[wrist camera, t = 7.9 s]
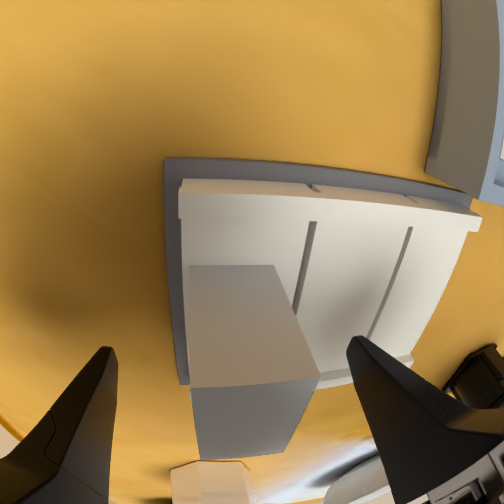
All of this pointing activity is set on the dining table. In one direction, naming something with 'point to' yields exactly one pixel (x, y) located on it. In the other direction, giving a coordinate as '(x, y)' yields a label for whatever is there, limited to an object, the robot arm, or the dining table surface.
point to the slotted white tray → (300, 295)
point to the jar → (212, 483)
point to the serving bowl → (359, 484)
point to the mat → (262, 172)
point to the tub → (471, 100)
